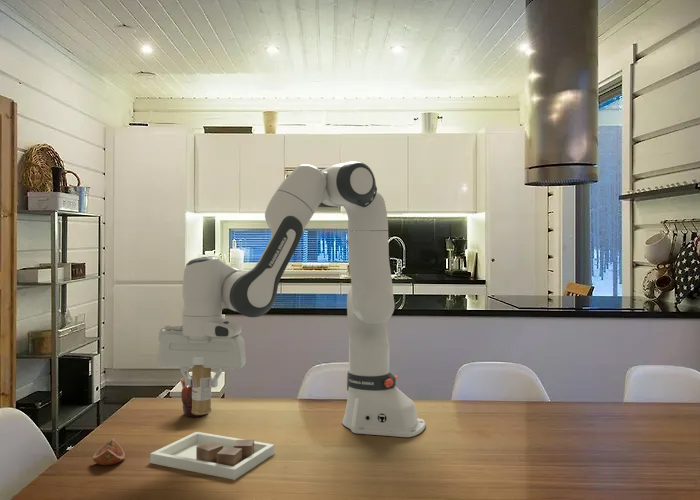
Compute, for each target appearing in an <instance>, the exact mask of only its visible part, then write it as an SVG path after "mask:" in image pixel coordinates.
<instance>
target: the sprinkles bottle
mask: <svg viewBox="0 0 700 500" xmlns="http://www.w3.org/2000/svg"><path fill="white" fill-rule="evenodd" d="M193 365H195V366H194V367H191V368H192V369H191V370H192V371H191V376H192V413H193V414H196V415H202V414H206V415H208V414H209V413H212V404H211V403H212V401H211V400H212V399H211V398H212V387H209V380H210V379H211V377H212V368H204V366H203V365H204V357H193Z"/></svg>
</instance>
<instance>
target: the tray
mask: <svg viewBox="0 0 700 500" xmlns="http://www.w3.org/2000/svg"><path fill="white" fill-rule="evenodd" d="M236 440H245V439H244V438H243V439H242V438H237V437H230V436H224V435H218V434H213V433H207V432H201V431H194V432H193V433H191V434H188V435H187V436H185V437H182V438H180V439H178V440H176V441H174V442H172V443H169V444H168V445H165V446H163V447H162V448H159V449H157V450H155V451H152V452H150V456H149V457H150V459H149V462H150V464H153V465H158V466H164V467H168V468H172V469H177V470H184V471H189V472H194V473H199V474H204V475H209V476H213V477H218V478H223V479H228V480H233V481H235V480H237V479H238V478H240V477H242V475H245V474H246V473H248V472H249V471H251V470H253V469H254V468H255V467H256V466H258V465H259V464H261V463H264V461H266V460H267V459H268V458H270V457H272V456H273V455H275V444H272V443H268V442H262V441H256V440H254V454H253V455H251V456H249V457H248V458H246V459H244V460H243V461H241V462H240V463H238V464H236V465H235V466H228V465H223V464H217V463H212V462H207V461H201V460H196V447H197V446H200V445H203V444H206V443H209V442H213V443H216V444H219V445H223V448H224V447H231V448H234V444H235V442H236Z"/></svg>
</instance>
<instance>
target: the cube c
mask: <svg viewBox="0 0 700 500" xmlns="http://www.w3.org/2000/svg"><path fill="white" fill-rule="evenodd" d="M254 441H255V439H244V440H236V442H235V444H234V448H242V461H243V460H244V459H246V458H248V457H249V456H251V455H253V454H254Z"/></svg>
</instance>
